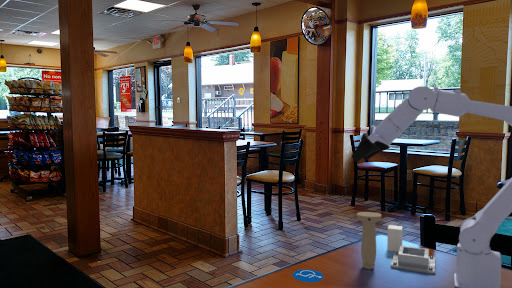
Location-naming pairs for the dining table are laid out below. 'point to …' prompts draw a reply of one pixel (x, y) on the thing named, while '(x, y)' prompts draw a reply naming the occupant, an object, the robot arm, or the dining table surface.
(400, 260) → the bracket
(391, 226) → the block
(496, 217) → the robot arm
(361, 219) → the handle
